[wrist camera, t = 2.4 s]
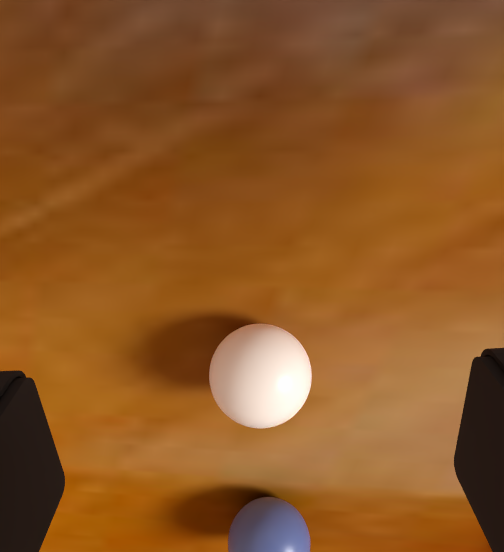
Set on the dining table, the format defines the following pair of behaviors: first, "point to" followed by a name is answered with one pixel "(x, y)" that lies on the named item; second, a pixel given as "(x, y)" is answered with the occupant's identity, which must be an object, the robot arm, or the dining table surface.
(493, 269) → the dining table surface
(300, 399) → the cue ball
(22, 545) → the robot arm
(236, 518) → the object ball
